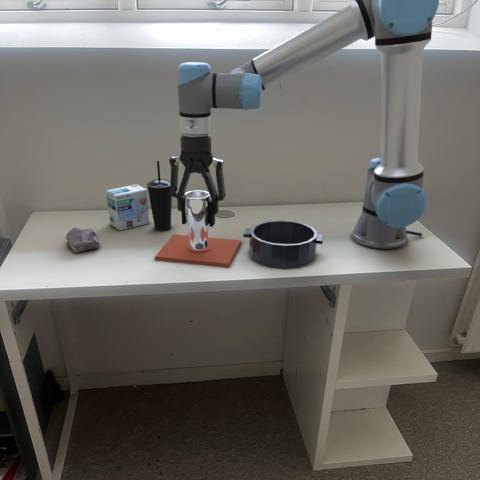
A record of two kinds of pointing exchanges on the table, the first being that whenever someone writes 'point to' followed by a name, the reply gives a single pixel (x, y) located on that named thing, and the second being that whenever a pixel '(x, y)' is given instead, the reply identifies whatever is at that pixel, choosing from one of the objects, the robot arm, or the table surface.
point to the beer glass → (197, 220)
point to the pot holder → (215, 256)
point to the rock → (82, 239)
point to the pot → (283, 254)
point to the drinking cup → (160, 202)
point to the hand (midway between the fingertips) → (198, 223)
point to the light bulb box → (128, 206)
